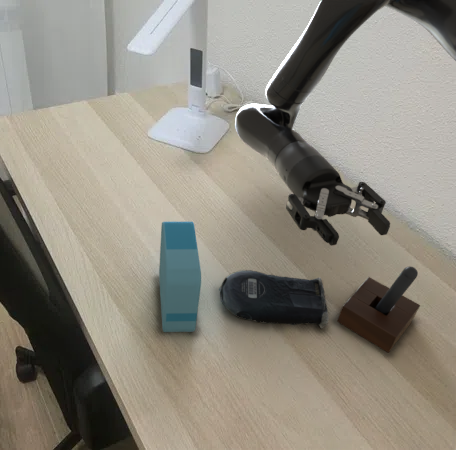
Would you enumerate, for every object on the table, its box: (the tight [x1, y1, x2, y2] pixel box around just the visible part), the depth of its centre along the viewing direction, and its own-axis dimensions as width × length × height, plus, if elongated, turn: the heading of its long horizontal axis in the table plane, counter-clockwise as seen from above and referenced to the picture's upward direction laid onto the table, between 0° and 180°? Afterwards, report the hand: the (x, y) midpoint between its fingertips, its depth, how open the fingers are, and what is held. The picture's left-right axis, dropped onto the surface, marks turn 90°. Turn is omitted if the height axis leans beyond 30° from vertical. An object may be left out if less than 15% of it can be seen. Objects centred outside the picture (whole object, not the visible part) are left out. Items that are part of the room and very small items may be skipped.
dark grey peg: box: [374, 266, 419, 315], centre depth 76 cm, size 2×2×13 cm
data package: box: [158, 221, 202, 333], centre depth 78 cm, size 12×4×12 cm, turn 2°
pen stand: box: [336, 276, 421, 353], centre depth 80 cm, size 8×8×4 cm
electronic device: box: [218, 269, 330, 329], centre depth 81 cm, size 9×6×15 cm
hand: (361, 235), depth 80 cm, fingers open, 8 cm apart
